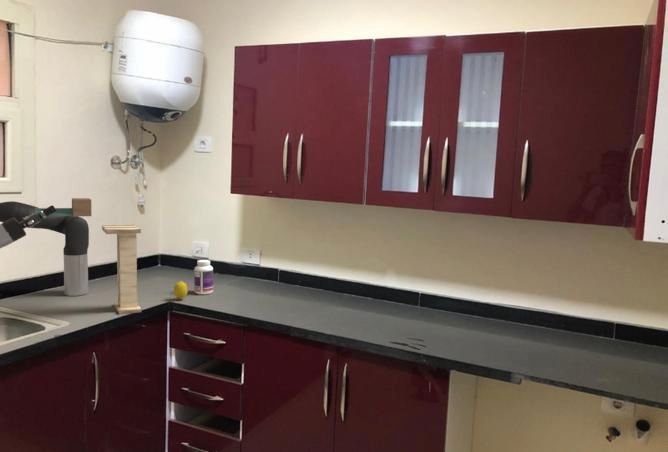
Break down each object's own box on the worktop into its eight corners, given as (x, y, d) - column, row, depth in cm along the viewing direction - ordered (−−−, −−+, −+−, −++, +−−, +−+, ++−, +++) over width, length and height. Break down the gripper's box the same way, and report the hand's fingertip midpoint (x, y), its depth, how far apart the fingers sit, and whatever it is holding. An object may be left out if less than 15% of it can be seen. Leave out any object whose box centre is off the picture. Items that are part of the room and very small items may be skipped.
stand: (103, 305, 219) (101, 225, 215) (135, 302, 225) (134, 224, 221) (107, 315, 206) (106, 230, 202) (141, 312, 212) (140, 229, 208)
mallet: (35, 214, 201) (35, 198, 200) (89, 214, 209) (89, 198, 209) (35, 216, 194) (35, 199, 193) (91, 216, 202) (91, 199, 202)
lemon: (183, 301, 229) (183, 282, 228) (171, 300, 230) (171, 281, 229) (189, 298, 234) (189, 280, 233) (177, 297, 235) (177, 279, 234)
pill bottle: (214, 291, 249) (214, 259, 247) (211, 295, 241) (211, 262, 239) (196, 290, 249) (196, 259, 247) (192, 295, 241) (192, 262, 239)
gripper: (14, 239, 201) (59, 214, 207) (13, 244, 189) (61, 218, 195) (1, 221, 198) (48, 197, 205) (-1, 226, 186) (49, 200, 192)
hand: (54, 208), depth 200 cm, fingers closed on mallet, 2 cm apart
